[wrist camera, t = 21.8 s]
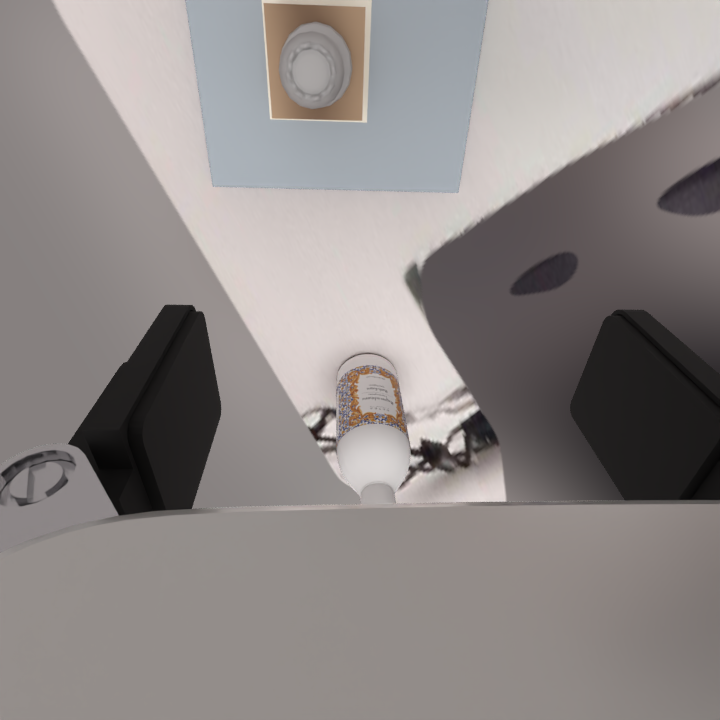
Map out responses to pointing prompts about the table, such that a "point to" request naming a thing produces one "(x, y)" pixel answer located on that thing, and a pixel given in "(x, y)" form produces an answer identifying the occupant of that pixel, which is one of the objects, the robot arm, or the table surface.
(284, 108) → the walnut cube
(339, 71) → the rook chess piece
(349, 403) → the bath foam
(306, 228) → the table surface
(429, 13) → the build board
